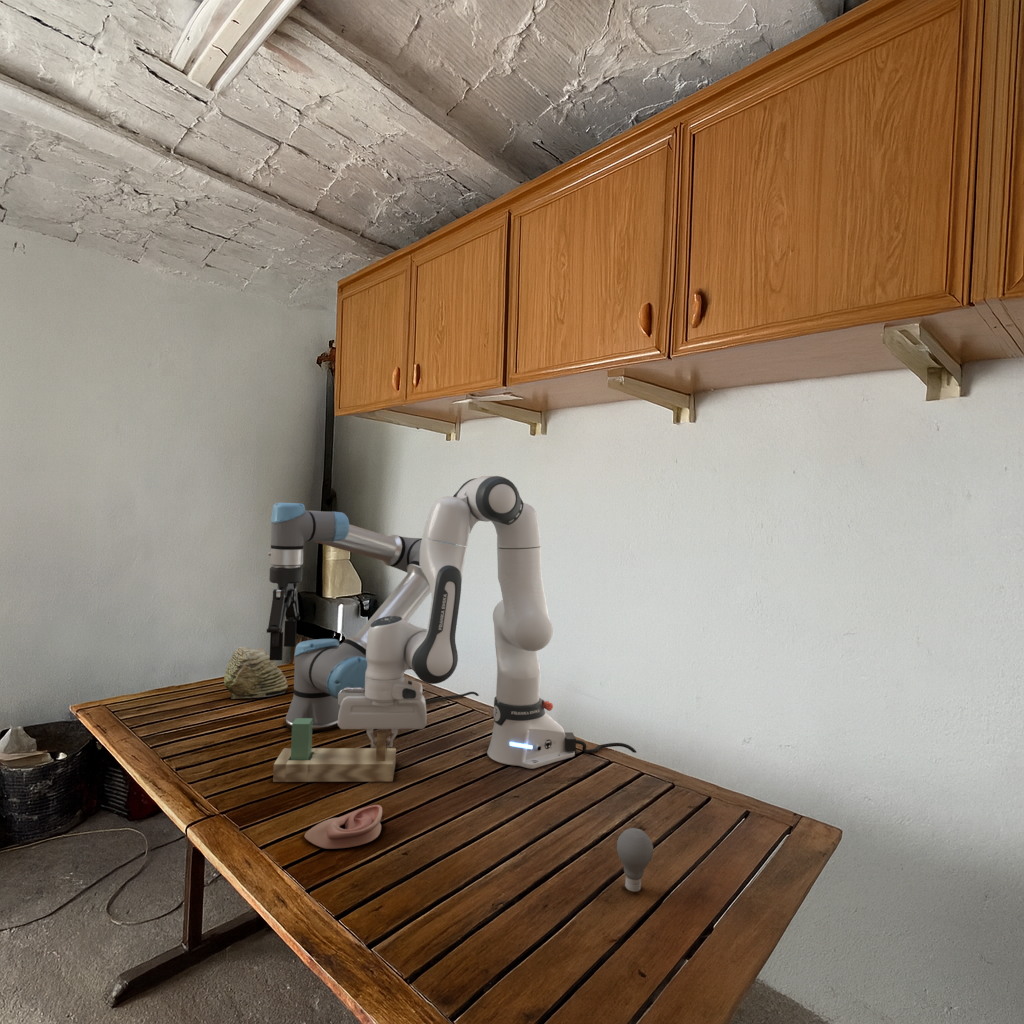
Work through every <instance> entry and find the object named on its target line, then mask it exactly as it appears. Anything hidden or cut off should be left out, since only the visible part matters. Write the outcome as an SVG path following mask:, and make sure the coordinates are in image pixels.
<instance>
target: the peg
mask: <svg viewBox="0 0 1024 1024" xmlns="http://www.w3.org/2000/svg"><path fill="white" fill-rule="evenodd" d="M312 725H313V718H296V719H295V720H294V722H293V723H292V729H291V742H290V743H291V744H290V748H291V760H311V751H312V748H313V747H312V746H313V732H312Z"/></svg>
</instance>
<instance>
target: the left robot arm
mask: <svg viewBox="0 0 1024 1024" xmlns="http://www.w3.org/2000/svg"><path fill="white" fill-rule="evenodd" d="M270 524H271V525H270V526H271V527H270V551H268V553H267V555H268V557H270V559H269V563H270V565H271V566H270V568H269V576H268V577H269V582H270V583H271V584H277V588H274V589H273V591H272V601H271V608H270V614H269V620H268V626H267V628H266V633H268V634H270V638H269V656H270V660H274V661H283V653H284V647H286V648H287V647H289V648H290V647H293V648H295V650H294V655H293V657H294V672H293V695H292V696H293V697H292V699H291V702H290V704H289V708H288V711H287V713H286V715H285V726H286V728H287V729H289V730H292V723H293V722H294V720H295V719H296V718H313V725H312V733H316V732H325V731H329V730H332V729H335V728H337V727H339V726H338V715H339V709H340V706H339V704H338V693H339V692H340V691H341V690H342V689H345V688H346V687H351V688H355V687H356V688H357V687H365V672H366V669H367V659H366V645H367V636H368V631H369V628H370V625H371V624H372V623H373V622H374V621H375V620H377V619H379V618H382V617H387V616H398V617H401V618H402V619H404V620H405V621H407V622H408V621H409V620H410V619H411V618H412V616H413V615H414V614H415V613H416V611H417V610H418V609H419V608H420V606H422V604H423V603H424V601H425V600H426V599H427V598H428V597H429V595H430V594H431V588H430V585H429V583H428V580H427V578H426V577H425V575H424V573H423V572H422V570H421V568H420V564H419V557H420V546H421V541H422V538H423V537H407V536H401V535H397V534H391V535H386V534H383V533H380V532H376V531H373V530H369V529H367V528H363V527H360V526H358V525H357V526H356V525H353V524H350V521H349V518H348V516H347V515H346V514H345V513H344V512H342V511H341V512H340V511H333V510H332V511H323V510H322V511H321V510H306V506H305V504H304V503H301V502H300V503H299V502H276V503H274V504H273V506H272V510H271V518H270ZM430 540H432V539H430ZM435 541H437V540H435ZM305 542H313V543H315V544H316V543H317V544H321V545H324V546H326V547H327V546H328V547H332V548H335V549H339V550H343V551H345V552H346V551H347V552H348V553H353V554H357V555H361V556H364V557H368V558H372V559H375V560H379V561H381V562H382V563H383V564H384V565H385V566H388V567H391V568H394V569H397V570H400V571H402V572H405V573H406V575H405V576H404V578H403V579H402V580H401V581H400V582H399V584H398V585H397V586H396V587H395V588H394V589H393V591H392V592H391V593H390V594H389V595H388V597H387V598H386V599H385V600H384V601H383V603H382V604H381V605H380V606H379V607H378V608H377V610H376V611H375V612H374V613H373V614H372V616H370V618H369V619H368V621H367V622H366V623H365V624H364V625H363V626H362V628H361V629H360V630H359V631H358V633H356V634H355V636H354V637H346V638H345V639H344V640H343V641H342V643H340V641H339V639H337V638H319V639H308V640H303V641H300V642H299V643H298V642H297V622H298V621H300V620H301V615H300V612H299V600H298V599H299V598H298V584H299V583H301V582H302V581H303V567H302V565H303V564H304V544H305ZM440 542H442V541H440ZM445 543H447V542H445ZM449 544H452V543H449ZM454 545H457V544H454ZM283 628H284V631H283ZM296 643H297V644H296ZM342 692H345V691H342ZM364 693H365V692H364ZM469 695H475V696H476V697H479V696H480V695H479V693H478V692H476V691H468V692H465V693H461V694H453V695H446V696H440V697H434V698H430V699H425V702H426V704H427V703H433V702H437V701H442V700H443V701H444V700H447V699H455V698H462V697H466V696H469Z"/></svg>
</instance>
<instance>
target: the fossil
mask: <svg viewBox="0 0 1024 1024" xmlns="http://www.w3.org/2000/svg"><path fill="white" fill-rule="evenodd" d="M231 655H232V656H231V658H230V659H229V661H228V663H227V666H226V669H225V673H224V677H223V678H224V679H223V686H224V687H225V688H226V689H227V691H228V692H229V693H230V696H231V697H230V698H231V699H233V700H234V699H235V700H236V699H237V700H238V699H252V698H253V699H255V698H258V699H259V698H266V697H273V696H274V697H275V696H277V695H282V694H285V693H286V691H287V690H288V687H289V685H288V680H287V678H286V676H285V674H284V673H283V671H282V669H280V668H279V667H278V666H277V663H276V661H275V660H270V654H268V653H267V651H265V649H263V648H255V649H254V648H251V647H247V646H239V647H238V648H237V649H236V650H235V651H233V654H231Z"/></svg>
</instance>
